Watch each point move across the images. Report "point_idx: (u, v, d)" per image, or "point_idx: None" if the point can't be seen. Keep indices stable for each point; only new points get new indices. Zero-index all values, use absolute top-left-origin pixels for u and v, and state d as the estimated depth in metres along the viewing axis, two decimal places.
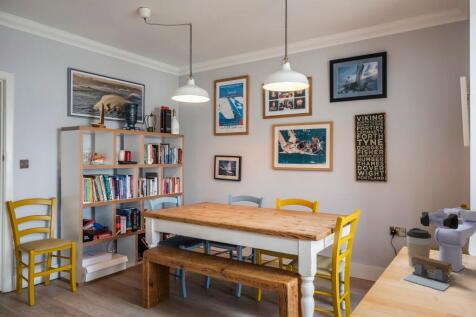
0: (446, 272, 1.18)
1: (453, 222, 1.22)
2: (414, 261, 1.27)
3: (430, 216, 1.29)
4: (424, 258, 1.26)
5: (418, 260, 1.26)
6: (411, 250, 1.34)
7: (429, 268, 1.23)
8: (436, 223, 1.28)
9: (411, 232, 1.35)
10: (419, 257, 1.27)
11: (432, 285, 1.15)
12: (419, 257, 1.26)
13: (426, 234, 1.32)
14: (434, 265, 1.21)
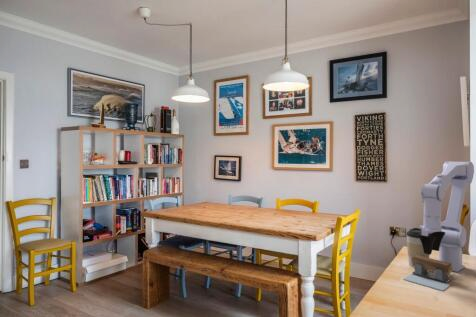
0: (446, 272, 1.18)
1: None
2: (414, 261, 1.27)
3: None
4: (424, 258, 1.26)
5: (418, 260, 1.26)
6: (411, 250, 1.34)
7: (429, 268, 1.23)
8: None
9: (411, 232, 1.35)
10: (419, 257, 1.27)
11: (432, 285, 1.15)
12: (419, 257, 1.26)
13: None
14: (434, 265, 1.21)
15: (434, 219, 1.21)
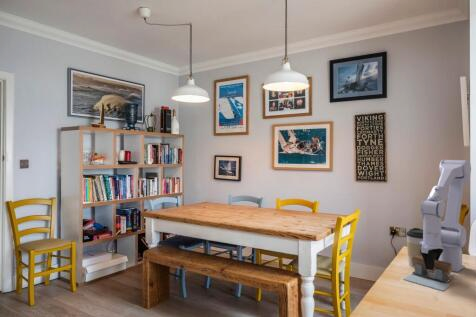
0: (446, 272, 1.18)
1: None
2: (414, 261, 1.27)
3: None
4: None
5: (418, 260, 1.26)
6: (411, 250, 1.34)
7: None
8: None
9: (411, 232, 1.35)
10: (419, 257, 1.27)
11: (432, 285, 1.15)
12: (419, 257, 1.26)
13: None
14: (434, 265, 1.21)
15: (434, 236, 1.21)
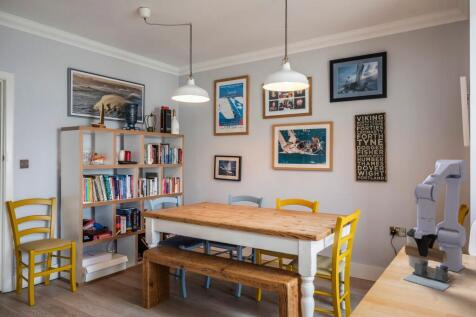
0: (440, 260, 1.13)
1: None
2: (407, 250, 1.21)
3: None
4: None
5: (412, 249, 1.20)
6: None
7: (423, 257, 1.17)
8: None
9: (411, 232, 1.35)
10: (412, 245, 1.21)
11: (432, 285, 1.15)
12: (412, 246, 1.21)
13: None
14: (428, 253, 1.16)
15: (428, 221, 1.15)
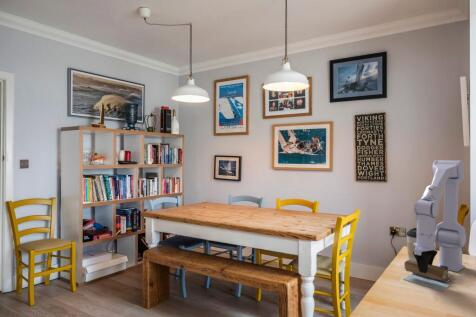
0: (440, 277, 1.13)
1: None
2: (407, 266, 1.21)
3: None
4: None
5: (411, 265, 1.20)
6: (411, 250, 1.34)
7: (422, 273, 1.17)
8: None
9: (411, 232, 1.35)
10: (412, 261, 1.21)
11: (432, 285, 1.15)
12: (412, 262, 1.21)
13: None
14: (427, 270, 1.16)
15: (427, 237, 1.15)
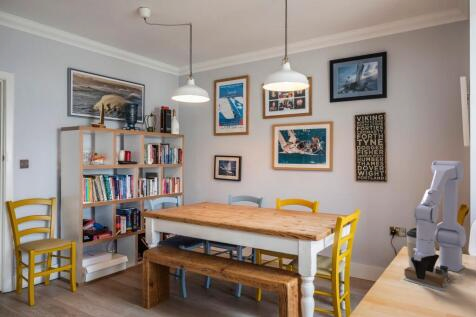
0: (440, 285, 1.13)
1: None
2: (407, 273, 1.22)
3: None
4: None
5: (411, 272, 1.20)
6: (411, 250, 1.34)
7: (422, 281, 1.18)
8: None
9: (411, 232, 1.35)
10: (412, 269, 1.21)
11: (432, 285, 1.15)
12: (412, 269, 1.21)
13: None
14: (427, 277, 1.16)
15: (427, 242, 1.16)
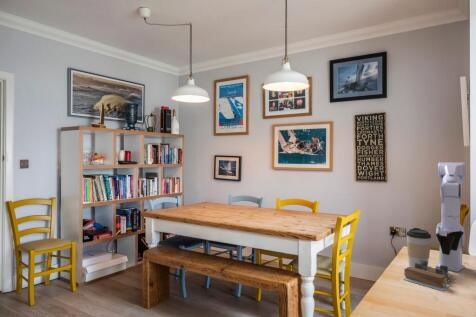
0: (440, 285, 1.13)
1: None
2: (407, 273, 1.22)
3: None
4: (418, 270, 1.20)
5: (411, 272, 1.20)
6: (411, 250, 1.34)
7: (422, 281, 1.18)
8: None
9: (411, 232, 1.35)
10: (412, 269, 1.21)
11: (432, 285, 1.15)
12: (412, 269, 1.21)
13: (426, 234, 1.32)
14: (427, 277, 1.16)
15: (453, 219, 1.18)
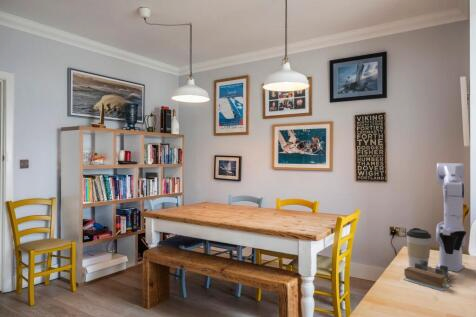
0: (440, 285, 1.13)
1: None
2: (407, 273, 1.22)
3: None
4: (418, 270, 1.20)
5: (411, 272, 1.20)
6: (411, 250, 1.34)
7: (422, 281, 1.18)
8: None
9: (411, 232, 1.35)
10: (412, 269, 1.21)
11: (432, 285, 1.15)
12: (412, 269, 1.21)
13: (426, 234, 1.32)
14: (427, 277, 1.16)
15: (456, 218, 1.18)
